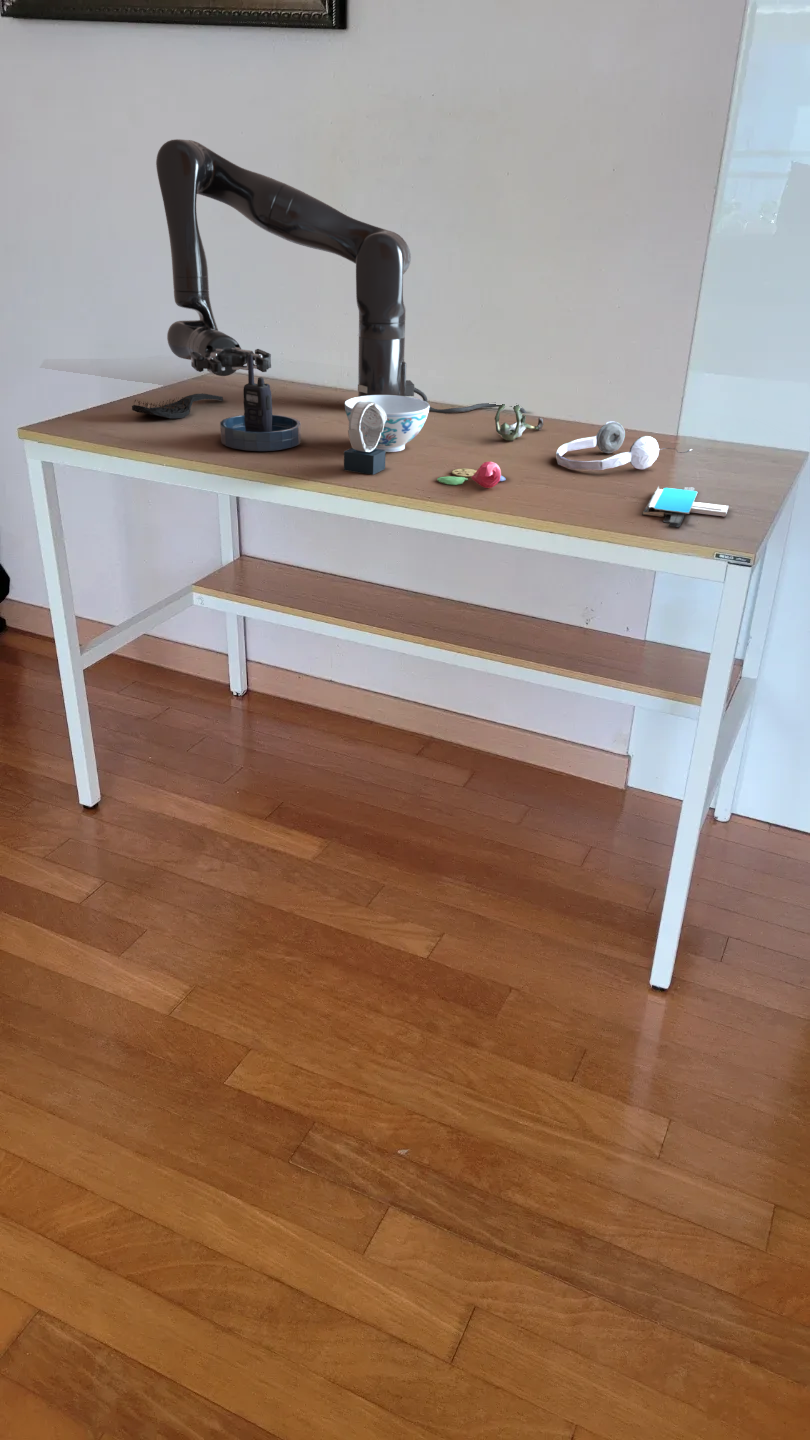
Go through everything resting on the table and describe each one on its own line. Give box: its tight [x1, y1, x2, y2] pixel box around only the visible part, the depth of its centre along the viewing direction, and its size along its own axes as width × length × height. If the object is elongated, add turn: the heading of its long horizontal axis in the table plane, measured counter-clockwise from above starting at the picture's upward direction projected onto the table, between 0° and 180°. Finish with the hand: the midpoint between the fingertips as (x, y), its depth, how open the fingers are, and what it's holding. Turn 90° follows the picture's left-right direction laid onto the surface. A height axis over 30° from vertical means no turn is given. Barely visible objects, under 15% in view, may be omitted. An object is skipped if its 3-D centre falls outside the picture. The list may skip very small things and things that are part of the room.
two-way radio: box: [242, 354, 273, 432], centre depth 189 cm, size 6×4×15 cm
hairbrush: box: [131, 392, 224, 419], centre depth 212 cm, size 8×4×25 cm
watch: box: [343, 401, 387, 476], centre depth 177 cm, size 6×8×11 cm
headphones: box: [555, 421, 693, 471], centre depth 186 cm, size 17×6×20 cm
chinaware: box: [344, 395, 431, 453], centre depth 190 cm, size 15×15×8 cm
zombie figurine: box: [494, 404, 544, 442], centre depth 201 cm, size 5×7×15 cm
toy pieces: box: [436, 460, 506, 489], centre depth 174 cm, size 12×11×4 cm
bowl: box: [219, 414, 302, 452], centre depth 192 cm, size 14×14×4 cm
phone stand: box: [642, 485, 729, 528], centre depth 164 cm, size 20×12×2 cm, turn 160°
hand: (242, 367), depth 195 cm, fingers open, 8 cm apart
